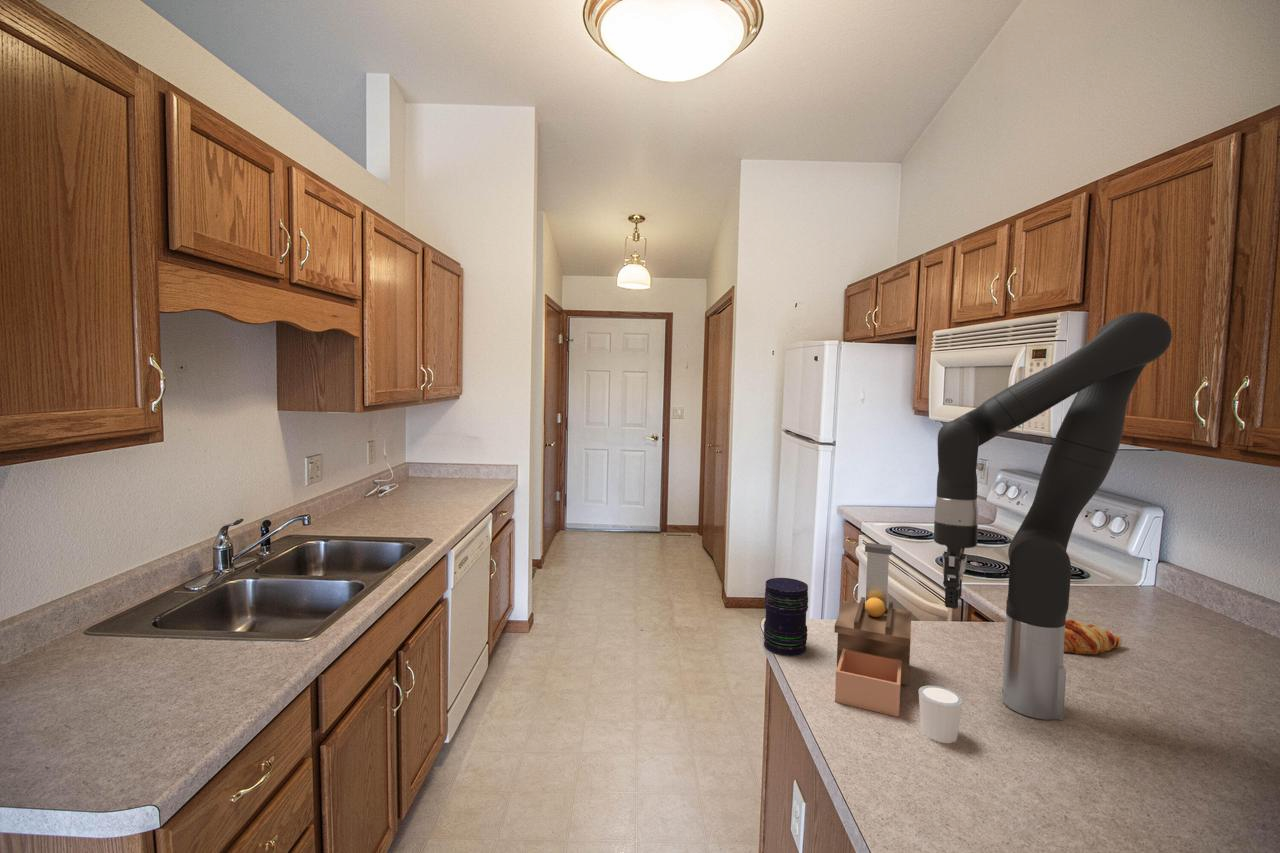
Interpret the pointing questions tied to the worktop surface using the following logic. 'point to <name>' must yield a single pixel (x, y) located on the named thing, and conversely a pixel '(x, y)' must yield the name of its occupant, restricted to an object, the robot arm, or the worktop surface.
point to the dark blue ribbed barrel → (785, 616)
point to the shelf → (875, 633)
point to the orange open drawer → (869, 682)
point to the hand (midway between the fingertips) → (953, 601)
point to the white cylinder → (940, 713)
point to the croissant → (1088, 638)
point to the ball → (875, 607)
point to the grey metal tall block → (877, 571)
